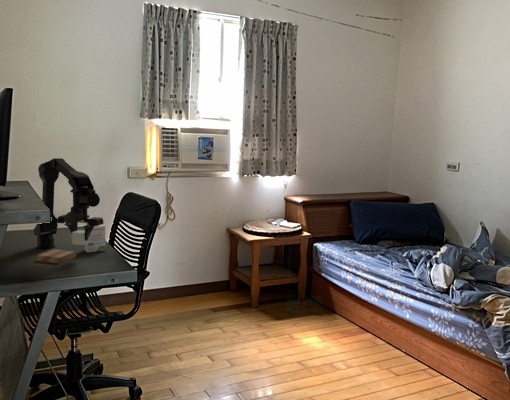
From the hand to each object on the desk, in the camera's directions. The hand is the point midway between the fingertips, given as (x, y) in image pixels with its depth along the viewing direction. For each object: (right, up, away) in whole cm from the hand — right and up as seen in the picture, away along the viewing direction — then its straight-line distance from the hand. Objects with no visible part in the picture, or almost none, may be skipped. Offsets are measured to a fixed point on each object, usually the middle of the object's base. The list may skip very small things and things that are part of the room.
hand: (80, 240), depth 208 cm
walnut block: (-11, -9, +1) cm, 14 cm away
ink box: (0, -6, +17) cm, 19 cm away
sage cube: (0, -1, 0) cm, 1 cm away
